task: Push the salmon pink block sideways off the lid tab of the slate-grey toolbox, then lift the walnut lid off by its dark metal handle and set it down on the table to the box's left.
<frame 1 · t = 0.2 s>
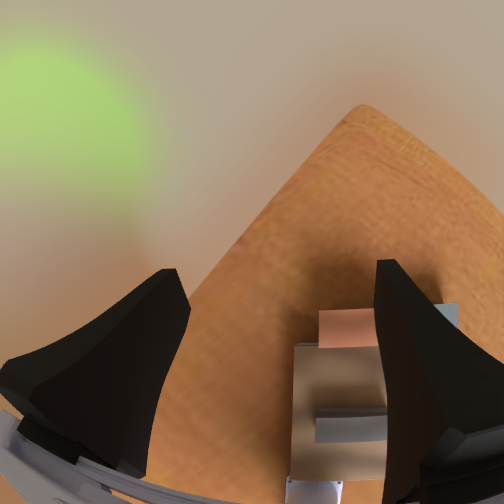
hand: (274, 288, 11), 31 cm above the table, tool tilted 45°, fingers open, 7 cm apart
salmon pink block: (355, 327, 32), point 7 cm above the table, slide at 0.0 cm
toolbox: (349, 407, 36), on the table
lid: (351, 415, 32), point 4 cm above the table, touching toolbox
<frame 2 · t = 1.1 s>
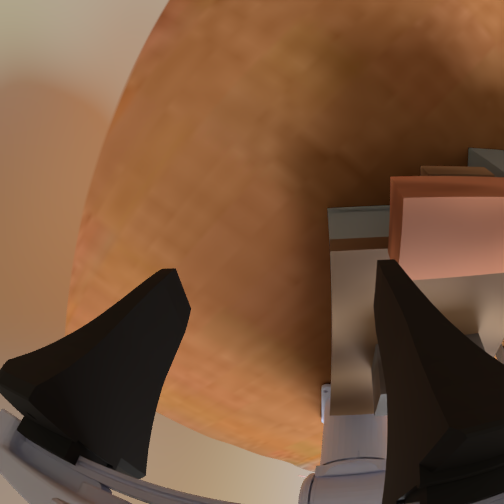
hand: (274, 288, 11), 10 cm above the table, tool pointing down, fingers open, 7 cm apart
salmon pink block: (471, 225, 12), point 7 cm above the table, slide at 0.0 cm
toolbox: (413, 304, 23), on the table
lid: (422, 340, 20), point 4 cm above the table, touching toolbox
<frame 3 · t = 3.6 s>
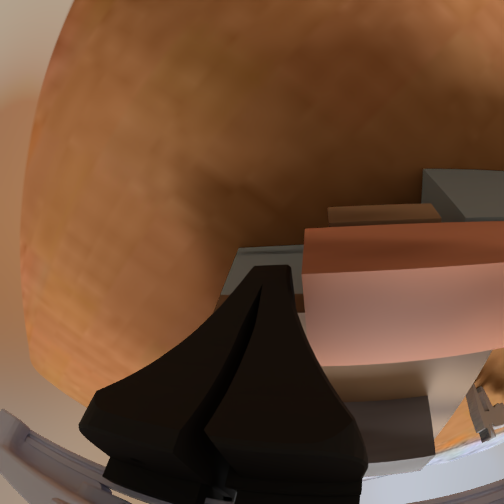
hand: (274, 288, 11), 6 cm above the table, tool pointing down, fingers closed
salmon pink block: (425, 294, 9), point 7 cm above the table, slide at 1.2 cm, touching gripper
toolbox: (358, 349, 21), on the table
lid: (360, 396, 17), point 4 cm above the table, touching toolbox
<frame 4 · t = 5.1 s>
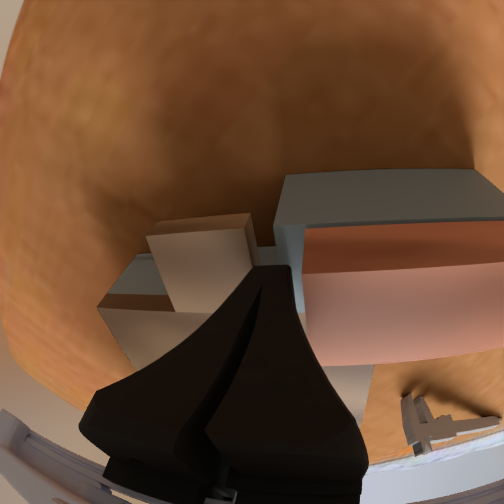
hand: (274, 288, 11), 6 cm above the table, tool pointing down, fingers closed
salmon pink block: (425, 294, 9), point 7 cm above the table, slide at 8.1 cm, touching gripper
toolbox: (265, 351, 22), on the table
caliper: (461, 407, 25), on the table
lid: (255, 396, 19), point 4 cm above the table, touching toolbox
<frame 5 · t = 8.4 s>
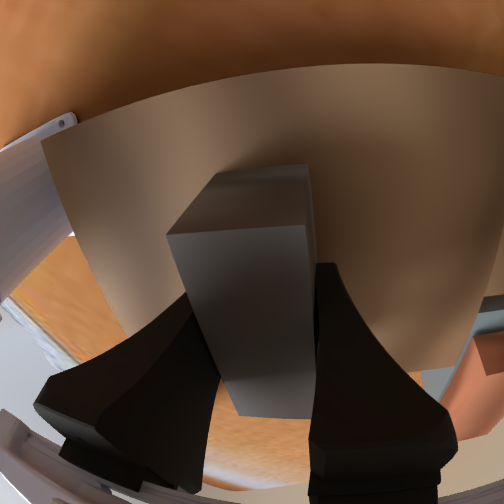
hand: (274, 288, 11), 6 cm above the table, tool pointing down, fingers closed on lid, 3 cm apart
salmon pink block: (483, 394, 12), point 7 cm above the table, slide at 8.2 cm
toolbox: (288, 210, 16), on the table
lid: (281, 253, 13), point 4 cm above the table, touching gripper, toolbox
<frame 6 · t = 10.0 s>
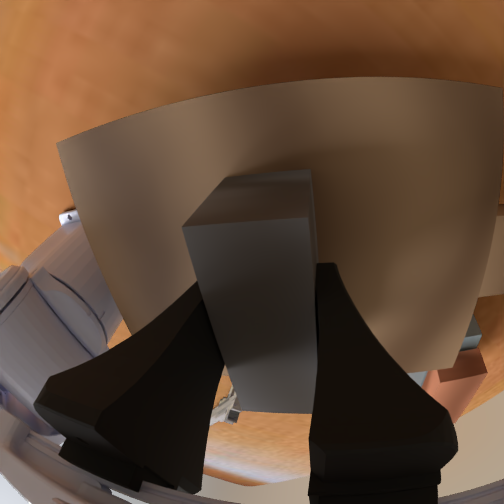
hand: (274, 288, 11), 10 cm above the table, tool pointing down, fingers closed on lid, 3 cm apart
salmon pink block: (446, 393, 19), point 7 cm above the table, slide at 8.2 cm
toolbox: (310, 273, 23), on the table
caliper: (218, 400, 37), on the table
lid: (284, 255, 13), point 8 cm above the table, touching gripper
when the fingers open (4 cm above the table, at t = 12.0 s): lid stays where it is, on the table.
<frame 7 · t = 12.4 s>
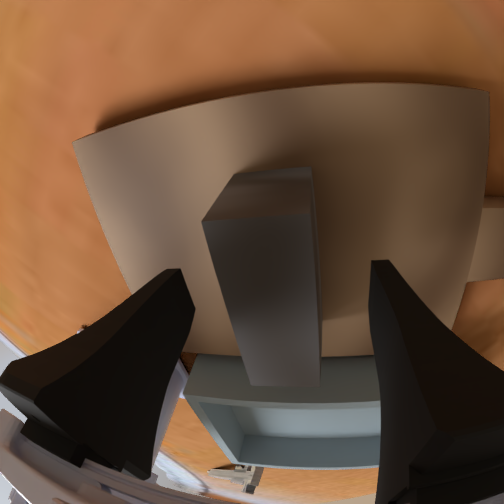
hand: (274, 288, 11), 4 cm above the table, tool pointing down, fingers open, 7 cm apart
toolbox: (330, 401, 22), on the table
caliper: (232, 459, 37), on the table
lid: (287, 243, 15), on the table
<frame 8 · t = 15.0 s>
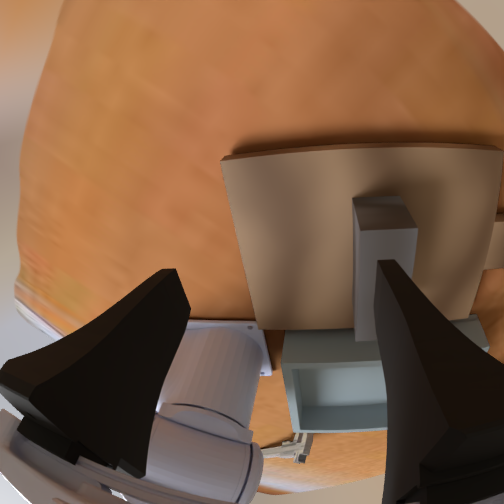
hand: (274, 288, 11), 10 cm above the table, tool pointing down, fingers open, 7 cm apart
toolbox: (379, 369, 28), on the table
caliper: (276, 438, 42), on the table
lid: (372, 243, 20), on the table
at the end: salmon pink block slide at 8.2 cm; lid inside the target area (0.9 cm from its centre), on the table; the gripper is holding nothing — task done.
